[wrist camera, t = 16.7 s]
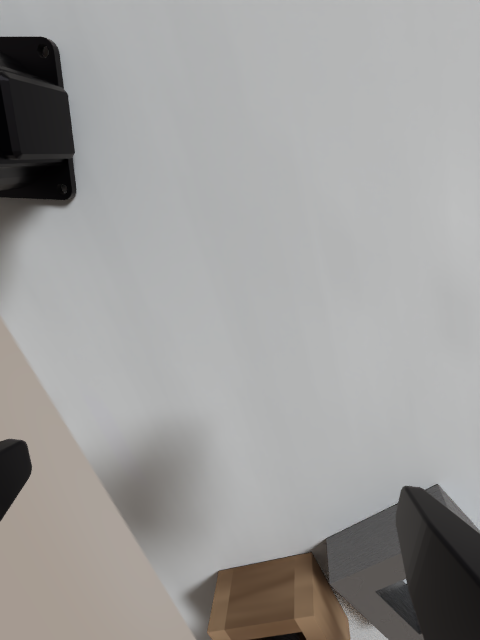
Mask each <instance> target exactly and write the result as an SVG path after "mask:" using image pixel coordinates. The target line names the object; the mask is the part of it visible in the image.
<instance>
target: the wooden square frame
mask: <svg viewBox="0 0 480 640" xmlns="http://www.w3.org/2000/svg"><path fill="white" fill-rule="evenodd" d="M297 632H300V640H350V632H349V623H348V618H347V616H346V614H345V613H344V611H343V609H342V607H341V605H340V603H339V602H338V600H337V598H336V596H335V594H334V592H333V591H332V589H331V587H330V585H329V583H328V581H327V580H326V578H325V576H324V574H323V572H322V570H321V569H320V567H319V565H318V563H317V561H316V559H315V558H314V556H313V554H312V552H310V553H305V554H300V555H295V556H290V557H285V558H281V559H276V560H271V561H266V562H261V563H256V564H251V565H246V566H241V567H236V568H232V569H227V570H222V571H219V572H218V577H217V583H216V588H215V593H214V599H213V604H212V609H211V615H210V620H209V625H208V630H207V633H208V635H209V636H210V637H211V639H212V640H259V638H263V637H270V636H277V635H284V634H290V633H297Z"/></svg>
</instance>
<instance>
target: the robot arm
mask: <svg viewBox="0 0 480 640" xmlns="http://www.w3.org/2000/svg"><path fill="white" fill-rule="evenodd" d="M46 46H47V47H48V50H49V54H48V56H47V57H46V58H45V57H44V56H43V49H44V47H46ZM74 153H75V150H74V142H73V134H72V125H71V117H70V109H69V101H68V94H67V93H66V91H65V90H64V86H63V78H62V70H61V62H60V54H59V50H58V47H57V46H56V44H55V43H54V42H52V41H51V40H49V39H47V38H44V37H0V197H9V198H31V199H54V200H66V199H71V198H73V197H74V196H75V194H76V182H75V174H74V166H73V158H72V157H73V155H74ZM62 184H64V185H65V186H66V187H67V192H66V193H64V192H63V191H62V188H61V187H62ZM31 470H32V465H31V460H30V456H29V451H28V446H27V444H26V442H25V441H23V440H15V439H7V440H4V441H0V521H1V520H2V518H3V517H4V515H5V514H6V512H7V511H8V509H9V508H10V506H11V504H12V503H13V501H14V500H15V498H16V497H17V495H18V493H19V492H20V491H21V489H22V488H23V486H24V485H25V483H26V482H27V480H28V479H29V477H30V474H31ZM395 521H396V528H397V534H398V539H399V544H400V549H401V554H402V559H403V564H404V570H405V575H406V580H407V584H408V589H409V592H410V596H411V599H412V603H413V606H414V609H415V612H416V615H417V619H418V622H419V625H420V628H421V631H422V635H423V638H424V640H480V533H479V532H477V531H476V530H475V529H474V528H472V527H471V526H470V525H468V524H467V523H466V522H465V521H463V520H462V519H461V518H460V517H458V516H457V515H456V514H455V513H453V512H452V511H451V510H449V509H448V508H447V507H446V506H444V505H443V504H442V503H441V502H439V501H438V500H437V499H436V498H434V497H433V496H432V495H430V494H429V493H428V492H427V491H425V490H424V489H422V488H420V487H412V486H404V487H403V488H402V490H401V493H400V497H399V501H398V506H397V510H396V516H395Z"/></svg>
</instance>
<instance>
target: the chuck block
mask: <svg viewBox="0 0 480 640" xmlns="http://www.w3.org/2000/svg"><path fill="white" fill-rule="evenodd" d="M425 491H427V492H428V493H429V494H430V495H432V496H433V497H434V498H436V499H437V500H438V501H439V502H441V503H442V504H443V505H444V506H446V507H447V508H448V509H449V510H451V511H452V512H453V513H455V514H456V515H457V516H458V517H460V518H461V519H462V520H463V521H465V522H466V523H467V524H468V525H470V526H471V527H472V528H474V529H475V530H476V531H477V532H479V533H480V531H479V529H478V528H477V527H476V526H475V525H474V524H473V523H472V522H471V521H470V519H469V518H468V517H467V516H466V515H465V514H464V513H463V512H462V511H461V509H460V508H459V507H458V506H457V505H456V504H455V503H454V502H453V501H452V499H451V498H450V497H449V496H448V495H447V494H446V493H445V492H444V491H443V489H442V488H441V487H440V486H439V485H438V484H437V485H435V486H433V487H431V488H429V489H427V490H425ZM397 506H398V504H396V505H394V506H392V507H390V508H388V509H386V510H384V511H382V512H380V513H378V514H376V515H374V516H372V517H370V518H368V519H366V520H364V521H362V522H360V523H358V524H356V525H354V526H352V527H350V528H348V529H346V530H343V531H341V532H339V533H337V534H335V535H333V536H331V537H329V538H327V539H326V542H327V555H328V569H329V582H330V585H331V586H332V587H333V588H334V589H335V590H336V591H337V592H338V593H339V594H340V595H341V596H343V597H344V598H345V599H346V600H347V601H348V602H349V603H350V604H351V605H352V606H353V607H354V608H355V609H356V610H358V611H359V612H360V613H361V614H362V615H363V616H364V617H365V618H366V619H367V620H368V621H369V622H370V623H371V624H373V625H374V626H375V627H376V628H377V629H378V630H379V631H380V632H381V633H382V634H383V635H384V636H385V637H386V638H388V639H389V640H424V638H423V635H422V631H421V628H420V625H419V622H418V619H417V615H416V612H415V609H414V606H413V603H412V599H411V596H410V592H409V589H408V584H407V585H406V584H405V583H404V582H403V581H402V580H404V579H406V575H405V570H404V564H403V559H402V554H401V549H400V544H399V539H398V534H397V528H396V521H395V516H396V510H397Z"/></svg>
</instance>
